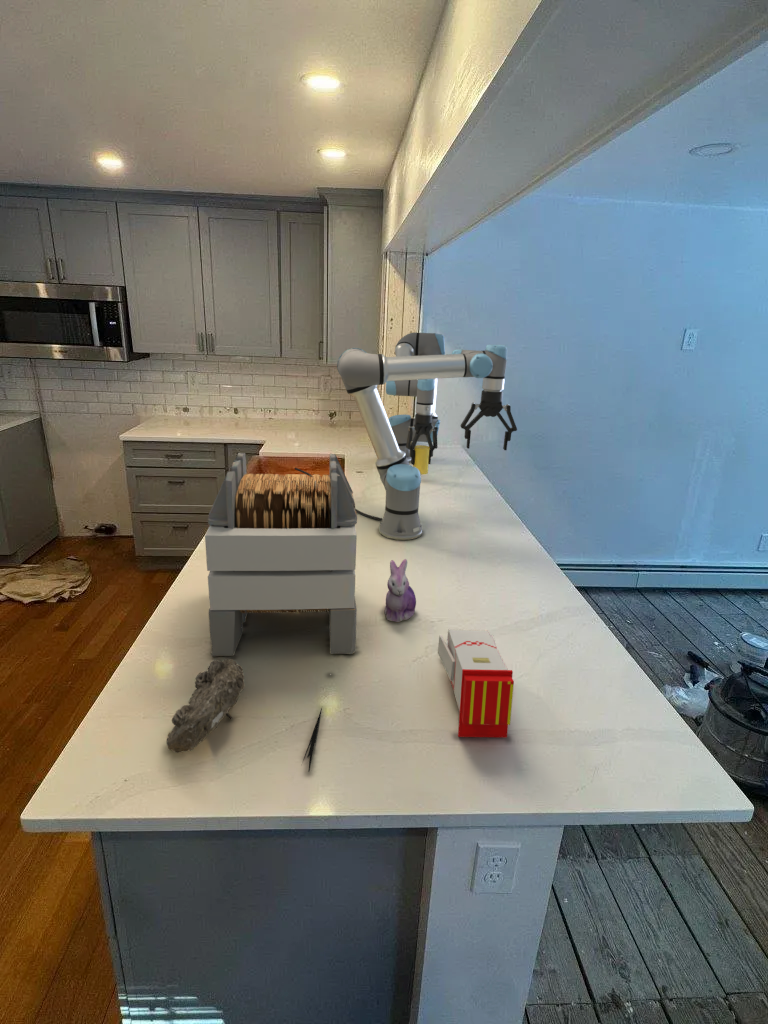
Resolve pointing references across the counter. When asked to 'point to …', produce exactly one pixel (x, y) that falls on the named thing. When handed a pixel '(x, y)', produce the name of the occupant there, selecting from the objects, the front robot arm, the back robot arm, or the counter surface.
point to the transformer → (281, 552)
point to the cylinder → (421, 458)
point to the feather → (313, 740)
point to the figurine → (399, 594)
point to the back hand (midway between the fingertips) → (420, 463)
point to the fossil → (206, 705)
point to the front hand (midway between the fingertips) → (486, 448)
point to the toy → (478, 682)
